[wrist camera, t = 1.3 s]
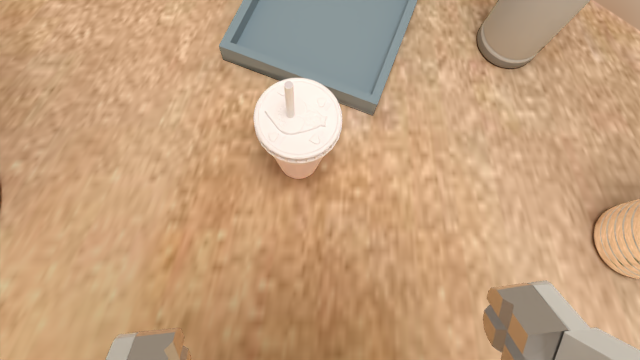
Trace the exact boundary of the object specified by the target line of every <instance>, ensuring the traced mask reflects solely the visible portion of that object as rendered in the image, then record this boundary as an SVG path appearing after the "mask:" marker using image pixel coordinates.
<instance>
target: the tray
mask: <svg viewBox="0 0 640 360" xmlns="http://www.w3.org/2000/svg"><path fill="white" fill-rule="evenodd" d="M416 3H417V0H243V2H242V4H241V6H240V7H239V9H238V11H237V13H236V15H235V17H234V19H233V20H232V22H231V24H230V26H229V28H228V30H227V32H226V34H225V35H224V37H223V39H222V41H221V43H220V45H219V48H220V51H221V54H222V57H223V60H226V61H229V62H231V63H234V64H237V65H239V66H242V67H245V68H247V69H250V70H253V71H255V72H258V73H261V74H263V75H266V76H269V77H271V78H274V79H277V80H279V81H282V80H285V79H289V78H306V79H310V80H314V81H316V82H318V83H320V84H322V85H324V86H325V87H326V88H328V89H329V90H330V91H331V92H332V93H333V95H334V96H335V97H336V99H337V101H338V103H341V104H344V105H346V106H349V107H352V108H354V109H357V110H360V111H362V112H365V113H368V114H370V115H373V114H374V112H375V109H376V107H377V104H378V102H379V99H380V96H381V94H382V91H383V89H384V86H385V83H386V81H387V78H388V76H389V73H390V70H391V68H392V65H393V63H394V60H395V57H396V55H397V52H398V49H399V47H400V44H401V42H402V39H403V36H404V34H405V31H406V29H407V26H408V23H409V21H410V18H411V16H412V13H413V10H414V8H415V5H416Z"/></svg>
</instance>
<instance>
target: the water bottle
mask: <svg viewBox="0 0 640 360" xmlns="http://www.w3.org/2000/svg"><path fill="white" fill-rule="evenodd" d="M594 242H595V246H596V249H597V251H598V253H599V255H600V256H601V258H602V259H603V261H604V262H605V263H606V264H607V265H608V266H609V267H610V268H612V269H613V270H614V271H616V272H618V273H620V274H622V275H624V276H627V277H631V278H637V279H640V199H637V200H633V201H630V202H626V203H622V204H620V205H617V206H614V207H612V208H610V209H608V210H607V211H605V212H604V213H603V214H602V215H601V216H600V217H599V219H598V220H597V222H596V225H595V228H594Z"/></svg>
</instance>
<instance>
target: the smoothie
mask: <svg viewBox="0 0 640 360" xmlns="http://www.w3.org/2000/svg"><path fill="white" fill-rule="evenodd" d="M254 127H255V132H256V136H257V138H258V140H259V142H260V143H261V145H262V146H263V148H264V149H265V150H266V151H267V152H268V153H269V154H271V155H272V156H273V157H274V158H275V160H276V161H277V163H278V164H279V166H280V168H281V169H282V171H283V172H284V173H285V174H286V175H288V176H289V177H291V178H295V179H302V178H306V177H308V176H310V175H311V174H312V173H313V172H314V171H315V170H316V168H317V166H318V165H319V163H320V161H321V160H322V158H323V156H325V155H326V154H327V153H328V152H329V151H330V150H331V149H333V147H334V145H335V144H336V142H337V141H338V139H339V136H340V133H341V129H342V112H341V108H340V105H339V103H338V101H337V99H336V97H335V96H334V95H333V93H332V92H331V91H330V90H329V89H328V88H326V87H325V86H324V85H322V84H320V83H318V82H316V81H314V80H310V79H306V78H289V79H285V80H282V81H279V82H277V83H275V84H273V85H272V86H270V87H269V88H268V89H267V90H266V91H265V92H264V93H263V94H262V95H261V97H260V98H259V100H258V102H257V104H256V107H255V111H254Z"/></svg>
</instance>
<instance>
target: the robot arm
mask: <svg viewBox="0 0 640 360" xmlns="http://www.w3.org/2000/svg"><path fill="white" fill-rule="evenodd" d="M487 300H488V301H489V303H490V305H489V306H488V307H487V308H486V309H485V310H484V315H483V324H484V330H485V333H486V335H487V338H488V340H489V341H490V343H491V345H492V346H493V347H494V348H496V349H497V350H499V351H500V352H502V356H501V360H640V350H638V349H636V348H635V347H633V346H631V345H629V344H627V343H625V342H623V341H621V340H619V339H617V338H615V337H613V336H612V335H610V334H608V333H606V332H604V331H602V330H600V329H598V328H590V327H589V326H588V325H587V324H586V322H585V321H584V320H583V319H582V318H581V317H580V316H579V314H578V313H577V312H576V311H575V310H574V309H573V308H572V307H571V305H570V304H569V303H568V302H567V301H566V300H565V299H564V297H563V296H562V295H561V294H560V293H559V292H558V291H557V289H556V288H555V287H554V286H553V285H552V284H551V283H550V282H548V281H538V282H531V283H522V284H515V285H507V286H500V287H493V288H490V290H489V291H488V294H487ZM184 338H185V337H184V334H183V332H182V329H181V328H173V329H163V330H153V331H143V332H136V333H127V334H119V335H118V336H117V337H116V338H115V339H114V340H113V343H112V345H111V347H110V350H109V352H108V355H107V357H106V359H105V360H191V355H190V352H189V349H188V348H186V347H185V346H183V342H184Z"/></svg>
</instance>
